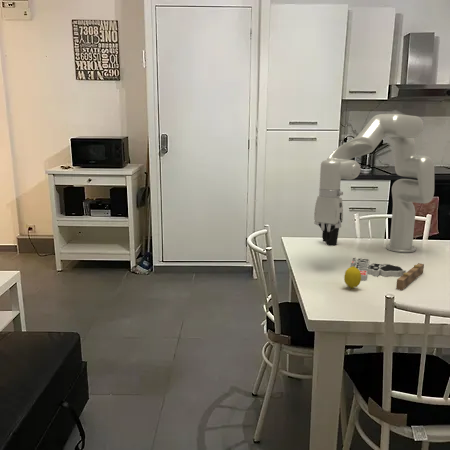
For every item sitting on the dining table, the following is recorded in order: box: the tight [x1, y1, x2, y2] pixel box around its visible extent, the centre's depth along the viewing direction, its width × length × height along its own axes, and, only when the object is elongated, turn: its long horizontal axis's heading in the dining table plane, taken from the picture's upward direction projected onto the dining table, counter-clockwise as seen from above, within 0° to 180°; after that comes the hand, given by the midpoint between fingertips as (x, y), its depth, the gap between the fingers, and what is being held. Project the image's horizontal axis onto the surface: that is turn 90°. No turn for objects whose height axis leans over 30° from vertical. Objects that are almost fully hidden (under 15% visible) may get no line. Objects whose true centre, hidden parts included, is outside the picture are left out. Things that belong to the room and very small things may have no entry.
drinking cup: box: [325, 224, 340, 247], centre depth 212 cm, size 8×8×20 cm
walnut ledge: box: [395, 262, 425, 291], centre depth 165 cm, size 24×2×4 cm, turn 141°
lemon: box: [343, 266, 362, 290], centre depth 156 cm, size 6×6×8 cm
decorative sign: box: [350, 257, 407, 282], centre depth 173 cm, size 22×2×20 cm
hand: (326, 240), depth 176 cm, fingers closed
